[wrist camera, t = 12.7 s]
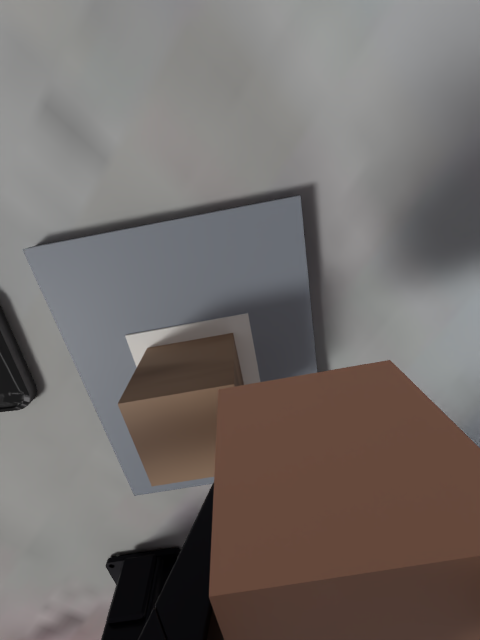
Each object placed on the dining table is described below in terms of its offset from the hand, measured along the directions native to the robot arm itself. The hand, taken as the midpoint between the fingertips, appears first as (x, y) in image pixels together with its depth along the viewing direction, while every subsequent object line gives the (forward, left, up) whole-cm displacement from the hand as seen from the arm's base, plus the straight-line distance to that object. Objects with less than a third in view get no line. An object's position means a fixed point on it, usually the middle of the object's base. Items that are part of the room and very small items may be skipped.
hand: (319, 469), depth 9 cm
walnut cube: (-2, +5, -9) cm, 11 cm away
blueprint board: (-2, +5, -10) cm, 12 cm away
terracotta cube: (0, 0, -1) cm, 1 cm away
